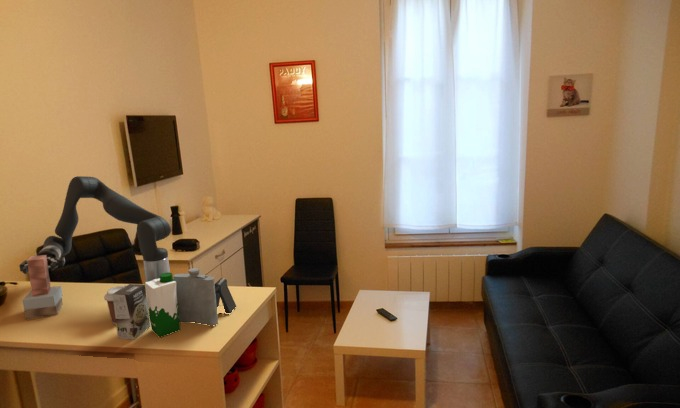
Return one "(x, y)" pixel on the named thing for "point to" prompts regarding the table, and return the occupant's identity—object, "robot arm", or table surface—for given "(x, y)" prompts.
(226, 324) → the table surface
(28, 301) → the tower middle block
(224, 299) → the phone stand
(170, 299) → the milk carton
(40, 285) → the tall block
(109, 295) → the coffee cup
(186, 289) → the hip flask
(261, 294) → the table surface
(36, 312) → the tower base
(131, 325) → the coffee box
